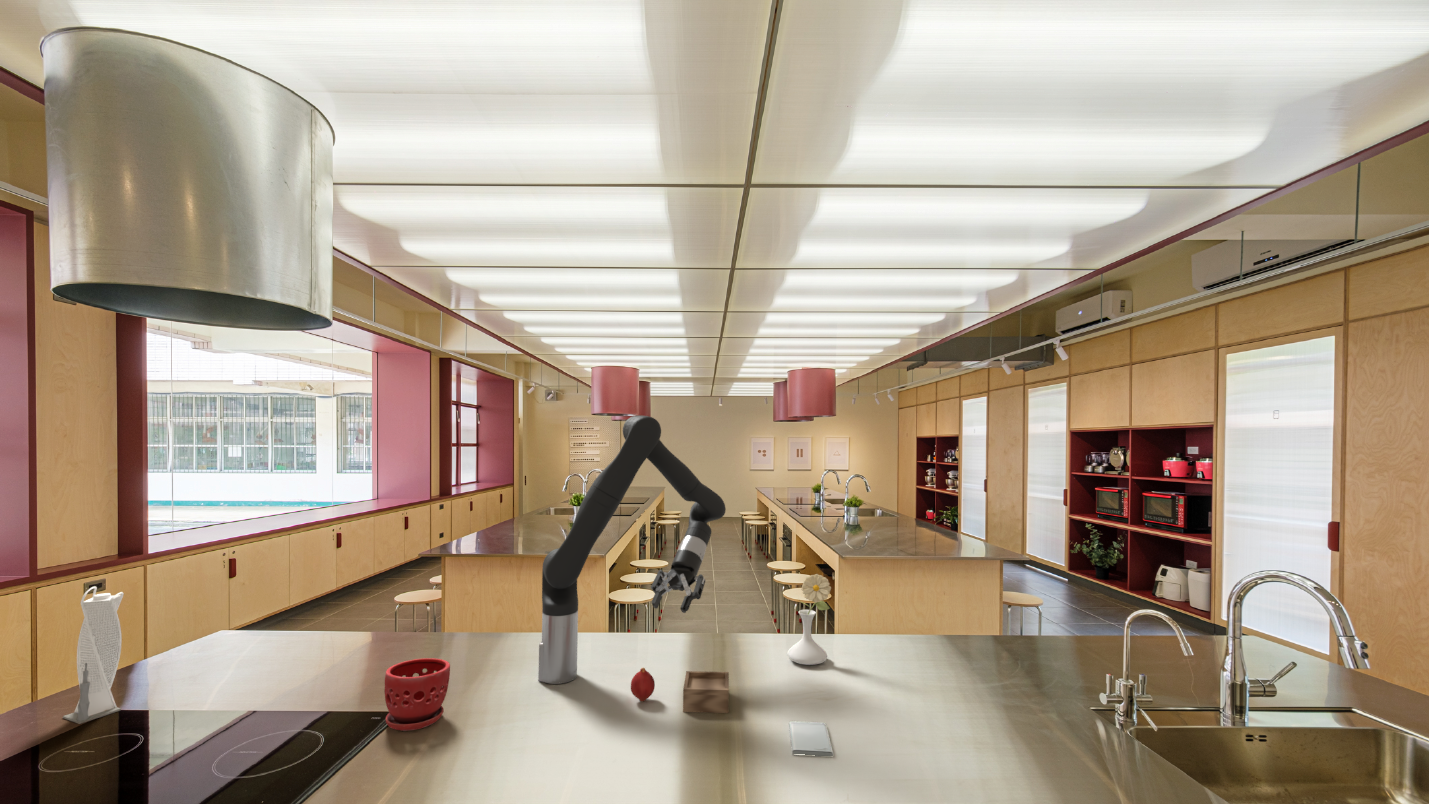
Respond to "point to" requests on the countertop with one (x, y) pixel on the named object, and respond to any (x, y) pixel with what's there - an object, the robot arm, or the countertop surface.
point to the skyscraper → (97, 656)
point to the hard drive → (810, 738)
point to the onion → (642, 685)
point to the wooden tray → (706, 692)
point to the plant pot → (416, 693)
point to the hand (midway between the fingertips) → (668, 609)
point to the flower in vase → (807, 648)
